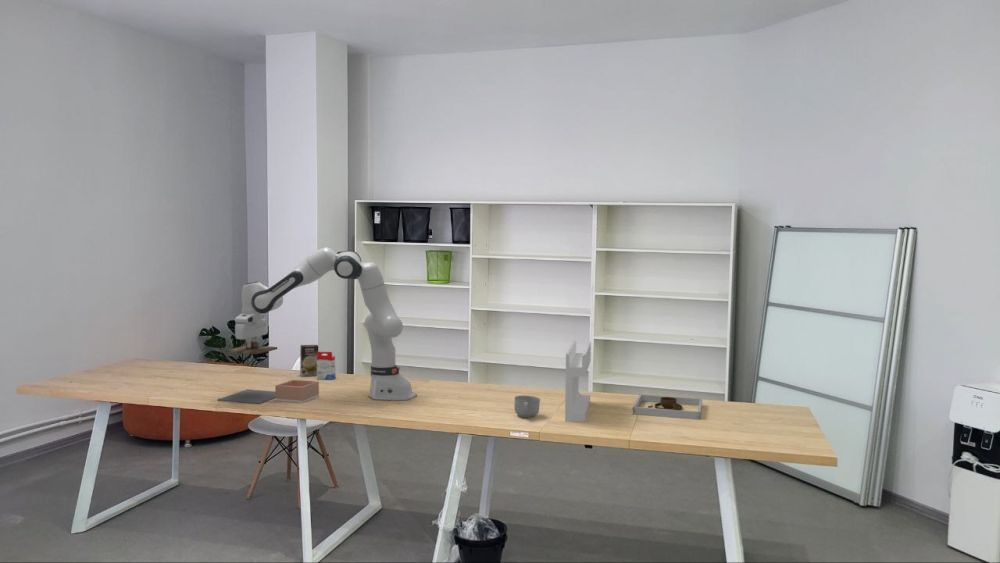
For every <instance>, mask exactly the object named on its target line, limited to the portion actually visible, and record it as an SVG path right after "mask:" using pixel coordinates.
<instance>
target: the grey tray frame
mask: <svg viewBox="0 0 1000 563" xmlns="http://www.w3.org/2000/svg"><path fill="white" fill-rule="evenodd" d="M662 397H672V398H676V399H677V402H676V404H679V405H684V406H685V405H686V406H687V405H688V406H698V410H697V411H693V410H682V409H681V410H669V409H656V408H655V407H654V408H653V407H651V408H649V407H643V406H640V405H641V402H645V403H646V402H647V403H661V402H660V400H661V398H662ZM702 409H703V398H695V397H682V396H667V395H654V394H642V393H641V394H640V393H639V395H638V396H637V399H636V400H635V402H634V404H633V406H632V415H640V416H650V417H651V416H652V417H663V418H664V417H665V418H677V419H691V420H701V416H702V411H703V410H702Z"/></svg>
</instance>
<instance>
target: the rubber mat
mask: <svg viewBox="0 0 1000 563" xmlns="http://www.w3.org/2000/svg"><path fill="white" fill-rule="evenodd" d="M274 399H276V394H275V391H273V390H260V389H248V388H247V389H245V390H242V391H238V392H236V393H233V394H229V395H226V396H224V397H221V398H217V401H220V402H233V403H240V404H241V403H242V404H243V403H244V404H246V403H247V404H255V405H261V404H263V403H266V402H269V401H271V400H274Z"/></svg>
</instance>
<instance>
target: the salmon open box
mask: <svg viewBox="0 0 1000 563" xmlns="http://www.w3.org/2000/svg"><path fill="white" fill-rule="evenodd" d="M274 386H275V388H274V389H275V391H274V392H275V394H276V398H275V401H276V402H285V403H286V402H288V403H299V404H303V403H305V402H309V401H311V400H313V399H316V398H318V397H319V396H320V381H315V380H303V379H289V380H288V381H284V382H281V383H278V384H276V385H274Z"/></svg>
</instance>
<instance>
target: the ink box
mask: <svg viewBox="0 0 1000 563" xmlns="http://www.w3.org/2000/svg"><path fill="white" fill-rule="evenodd" d="M316 378H317V380H321V381H322V380H323V381H324V380H325V381H326V380H327V381H328V380H329V381H333V380H335V379H336V355H333V351H318V352H317V376H316Z"/></svg>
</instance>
